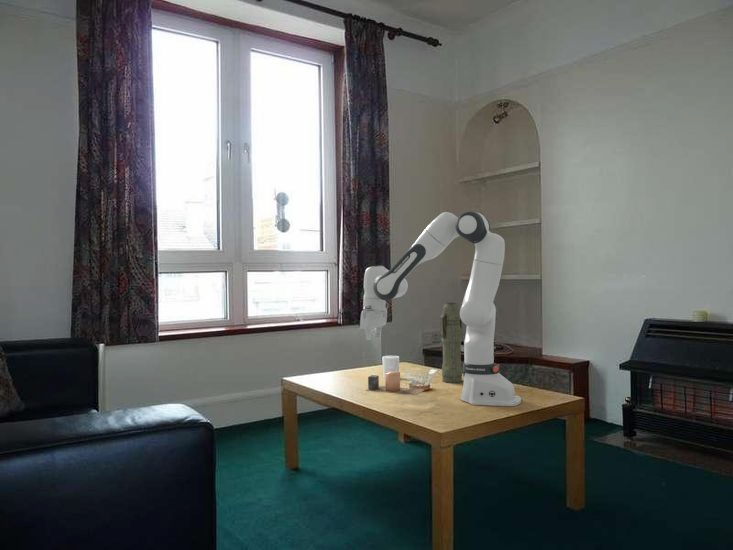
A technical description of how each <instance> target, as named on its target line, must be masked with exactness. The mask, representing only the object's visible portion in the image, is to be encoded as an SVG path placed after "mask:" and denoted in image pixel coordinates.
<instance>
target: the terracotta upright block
mask: <svg viewBox="0 0 733 550" xmlns="http://www.w3.org/2000/svg"><path fill="white" fill-rule="evenodd" d="M384 381H385V382H384V383H385V385H384V386H385V390H386V391H400V388H401V372H400V371H399V372H397V371H389V372H385V379H384Z"/></svg>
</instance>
